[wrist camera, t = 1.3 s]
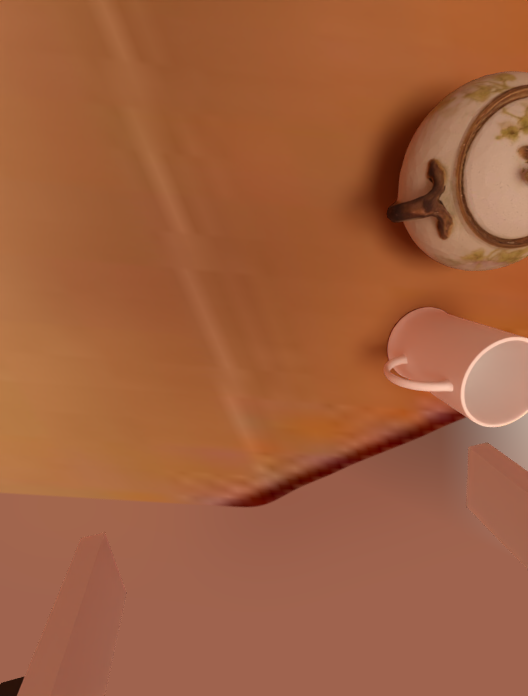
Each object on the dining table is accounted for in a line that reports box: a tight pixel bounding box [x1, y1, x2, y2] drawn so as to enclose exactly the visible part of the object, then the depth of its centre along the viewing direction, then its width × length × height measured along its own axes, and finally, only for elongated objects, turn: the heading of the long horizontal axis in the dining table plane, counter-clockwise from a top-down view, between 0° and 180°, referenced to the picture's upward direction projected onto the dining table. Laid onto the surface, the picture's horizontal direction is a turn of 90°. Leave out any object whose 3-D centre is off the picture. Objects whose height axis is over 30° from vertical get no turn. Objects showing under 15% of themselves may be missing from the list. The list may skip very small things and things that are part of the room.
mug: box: [384, 307, 528, 427], centre depth 35 cm, size 12×8×12 cm
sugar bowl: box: [387, 71, 528, 271], centre depth 29 cm, size 20×15×15 cm
